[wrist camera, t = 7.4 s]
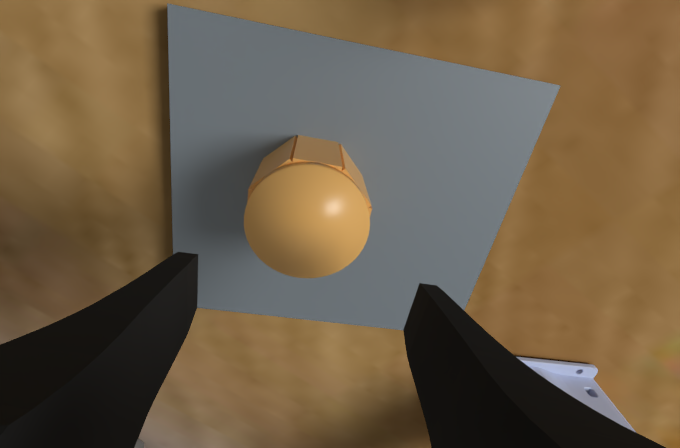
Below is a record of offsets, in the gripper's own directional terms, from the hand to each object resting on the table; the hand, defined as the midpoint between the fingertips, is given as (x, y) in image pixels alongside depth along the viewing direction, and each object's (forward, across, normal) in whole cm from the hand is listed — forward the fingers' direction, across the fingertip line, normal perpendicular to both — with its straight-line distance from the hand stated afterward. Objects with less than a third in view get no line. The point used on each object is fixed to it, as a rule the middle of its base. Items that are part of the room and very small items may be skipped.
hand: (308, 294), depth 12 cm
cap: (+8, 0, 0) cm, 8 cm away
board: (+9, -2, 0) cm, 9 cm away
